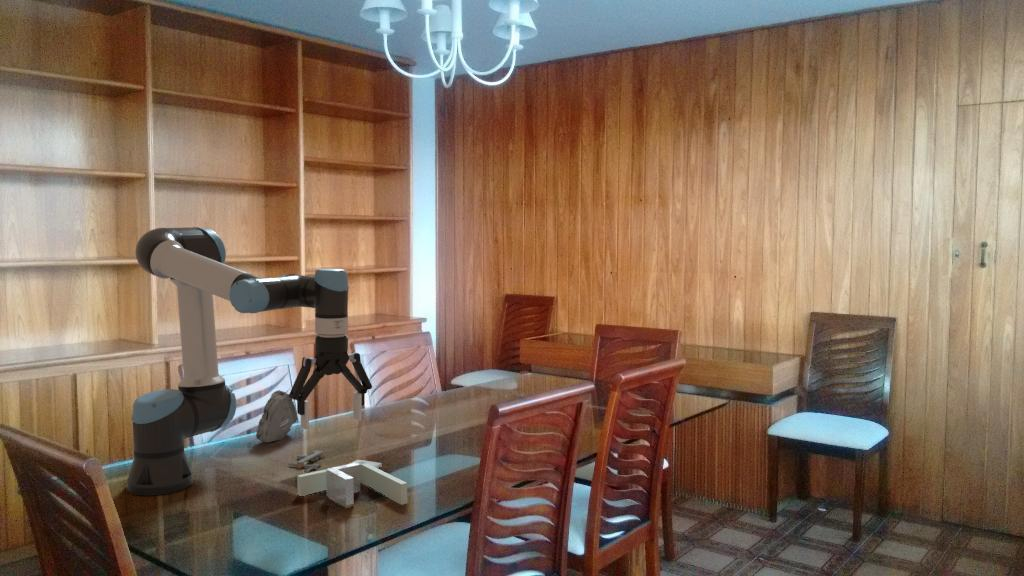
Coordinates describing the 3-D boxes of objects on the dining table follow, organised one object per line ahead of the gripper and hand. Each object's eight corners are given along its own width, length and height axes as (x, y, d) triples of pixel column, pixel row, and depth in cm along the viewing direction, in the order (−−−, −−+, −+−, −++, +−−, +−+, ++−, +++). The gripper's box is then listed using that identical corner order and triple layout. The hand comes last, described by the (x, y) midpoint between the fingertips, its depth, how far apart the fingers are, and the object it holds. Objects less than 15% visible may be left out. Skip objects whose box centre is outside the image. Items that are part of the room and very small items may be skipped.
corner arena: (338, 521, 179) (337, 499, 179) (297, 495, 195) (297, 475, 195) (407, 503, 190) (407, 482, 190) (363, 480, 207) (363, 461, 206)
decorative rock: (285, 432, 253) (284, 385, 251) (302, 434, 250) (302, 386, 249) (250, 445, 238) (249, 395, 236) (268, 448, 235) (267, 397, 234)
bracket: (326, 497, 195) (326, 468, 194) (356, 490, 200) (355, 462, 199) (346, 508, 187) (345, 479, 186) (376, 501, 192) (376, 472, 191)
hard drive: (355, 476, 207) (382, 462, 219) (329, 471, 210) (356, 458, 222) (355, 482, 207) (382, 468, 219) (329, 477, 211) (356, 464, 222)
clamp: (306, 448, 229) (337, 452, 226) (306, 456, 229) (337, 459, 226) (274, 464, 215) (307, 467, 211) (275, 472, 215) (307, 476, 212)
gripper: (287, 341, 177) (288, 435, 179) (386, 332, 193) (385, 419, 195) (273, 337, 183) (274, 428, 185) (370, 328, 198) (370, 412, 201)
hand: (331, 423), depth 190 cm, fingers open, 13 cm apart
